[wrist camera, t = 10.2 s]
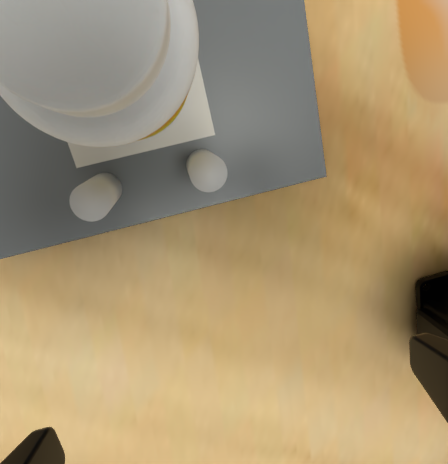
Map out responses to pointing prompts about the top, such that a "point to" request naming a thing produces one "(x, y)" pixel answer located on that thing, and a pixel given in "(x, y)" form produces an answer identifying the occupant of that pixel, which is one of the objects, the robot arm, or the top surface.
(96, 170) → the pin tray
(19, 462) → the robot arm
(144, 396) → the top surface
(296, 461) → the top surface
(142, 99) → the supplement bottle
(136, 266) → the top surface
